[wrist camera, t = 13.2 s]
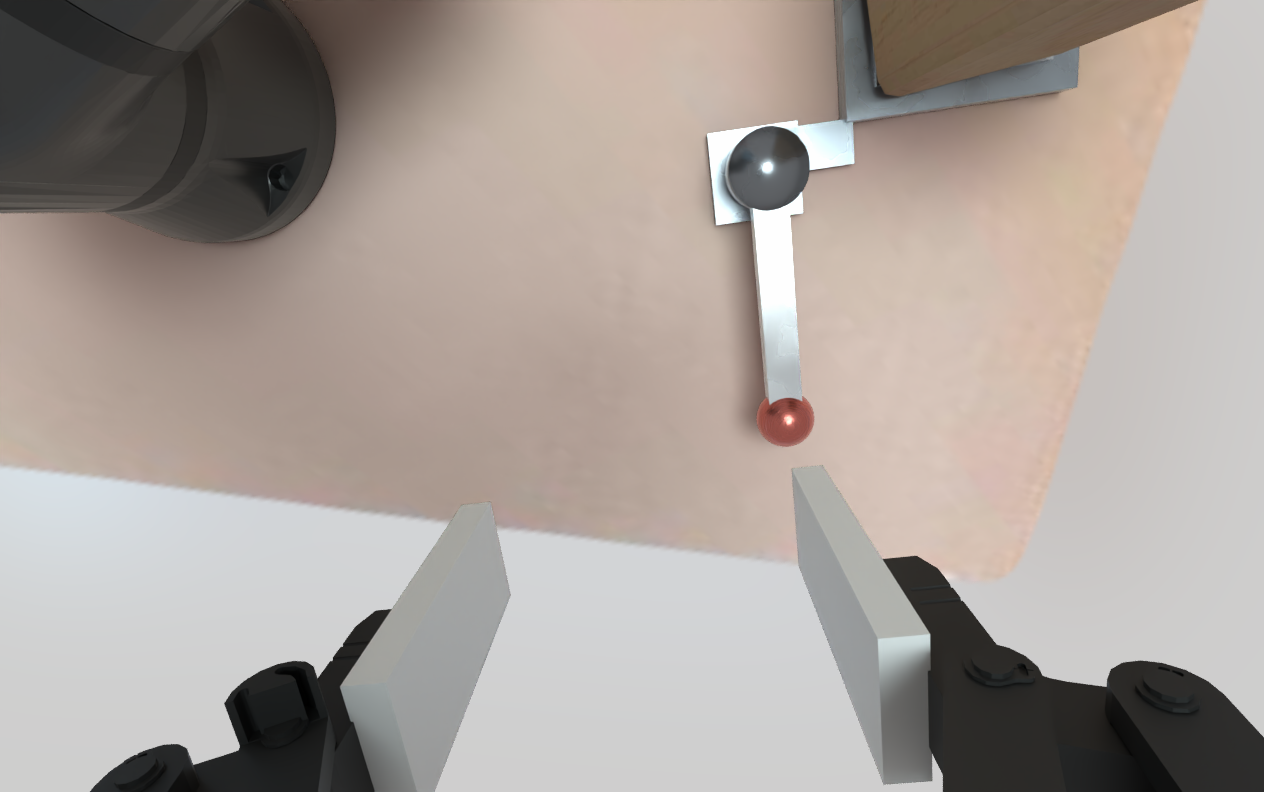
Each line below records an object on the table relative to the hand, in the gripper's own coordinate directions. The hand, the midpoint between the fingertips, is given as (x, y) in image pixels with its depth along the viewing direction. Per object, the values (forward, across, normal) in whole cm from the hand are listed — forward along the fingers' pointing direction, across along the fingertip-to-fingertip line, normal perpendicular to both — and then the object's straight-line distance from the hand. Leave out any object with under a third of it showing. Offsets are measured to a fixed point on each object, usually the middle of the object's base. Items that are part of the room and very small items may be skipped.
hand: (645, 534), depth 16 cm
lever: (+22, +7, +2) cm, 23 cm away
